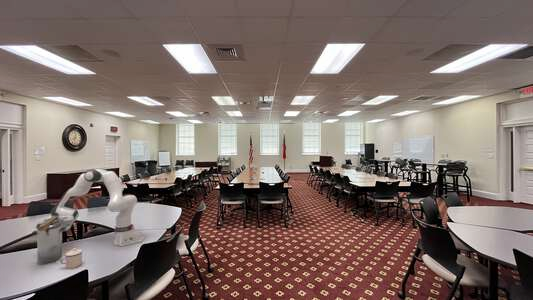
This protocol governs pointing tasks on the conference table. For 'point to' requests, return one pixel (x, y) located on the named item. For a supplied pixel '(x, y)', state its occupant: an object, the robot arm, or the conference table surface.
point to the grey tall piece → (49, 243)
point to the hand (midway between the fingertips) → (54, 218)
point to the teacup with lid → (73, 258)
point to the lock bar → (48, 222)
